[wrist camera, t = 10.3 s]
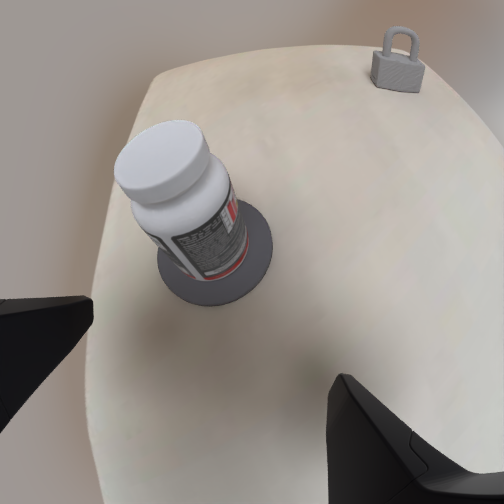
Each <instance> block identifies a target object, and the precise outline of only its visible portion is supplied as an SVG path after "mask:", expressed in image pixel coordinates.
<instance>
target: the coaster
mask: <svg viewBox="0 0 504 504" xmlns="http://www.w3.org/2000/svg"><path fill="white" fill-rule="evenodd" d="M237 202H238V205H239V208H240V211H241V214H242V217H243V220H244V223H245V226H246V228H247V232H248V238H249V246H248V251H247V254H246V256H245V258H244V260H243V262H242V263H241V265H240V266H239V267H238V268H237V269H236V270H235V271H234V272H232V273H231V274H229V275H228V276H226V277H224V278H221V279H219V280H214V281H199V280H195V279H193V278H190V277H189V276H187V275H186V274H184V273H183V272H182V271H181V270H180V269H179V268H178V267H177V266H176V265H175V264H174V263H173V262H172V261H171V260H170V259H169V257H168V256H167V255H166V254H165V253H164V252H163V251H162V250H161V249H160V248H159V247H158V255H157V261H158V268H159V272H160V274H161V277H162V279H163V281H164V282H165V284H166V285H167V286H168V288H169V289H170V290H171V291H172V292H174V293H175V294H176V295H177V296H179V297H180V298H182V299H183V300H185V301H187V302H189V303H192V304H196V305H201V306H218V305H223V304H227V303H230V302H233V301H235V300H237V299H239V298H241V297H243V296H244V295H246V294H247V293H248V292H250V291H251V290H252V289H253V288H254V287H255V286H256V285H257V284H258V283H259V282H260V281H261V279H262V278H263V276H264V275H265V273H266V271H267V269H268V267H269V264H270V261H271V257H272V250H273V246H272V237H271V231H270V228H269V226H268V223H267V222H266V220H265V218H264V217H263V215H262V214H261V213H260V212H259V211H258V210H257V209H256V208H254V207H253V206H252V205H250V204H248V203H246V202H244V201H241V200H238V199H237Z"/></svg>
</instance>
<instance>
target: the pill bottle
mask: <svg viewBox="0 0 504 504" xmlns="http://www.w3.org/2000/svg"><path fill="white" fill-rule="evenodd" d="M114 176H115V179H116V181H117V183H118V184H119V186H120V187H121V189H122V190H123V191H124V193H125V194H126V195H127V196H128V197H129V198H130V199H131V209H132V213H133V216H134V218H135V220H136V221H137V223H138V224H139V226H140V227H141V228H142V229H143V230H144V231H145V232H146V234H147V235H148V236H149V237H150V238H151V239H152V240H153V241H154V242H155V243H156V245H157V246H158V247H159V248H160V249H161V250H162V251H163V252H164V253H165V254H166V255H167V256H168V257H169V259H170V260H171V261H172V262H173V263H174V264H175V265H176V266H177V267H178V268H179V269H180V270H181V271H182V272H183V273H184V274H186V275H187V276H189V277H190V278H193V279H195V280H199V281H214V280H219V279H221V278H224V277H226V276H228V275H229V274H231V273H232V272H234V271H235V270H236V269H237V268H238V267H239V266H240V265H241V263H242V262H243V260H244V258H245V256H246V254H247V251H248V246H249V238H248V232H247V228H246V226H245V223H244V220H243V217H242V214H241V211H240V208H239V205H238V202H237V199H236V196H235V193H234V190H233V187H232V184H231V181H230V177H229V174H228V172H227V170H226V168H225V166H224V164H223V163H222V162H221V160H220V159H219V158H217V157H216V156H215V155H213V154H212V153H210V150H209V146H208V144H207V142H206V140H205V137H204V135H203V133H202V131H201V129H200V128H199V127H198V126H197V125H196V124H194V123H192V122H190V121H186V120H171V121H166V122H162V123H159V124H157V125H154V126H152V127H150V128H148V129H146V130H144V131H142V132H141V133H139V134H138V135H137V136H135V137H134V138H133V139H132V140H131V141H130V142H129V143H128V144H127V145H126V146H125V147H124V148H123V150H122V151H121V152H120V154H119V156H118V158H117V160H116V163H115V167H114Z"/></svg>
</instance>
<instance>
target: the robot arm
mask: <svg viewBox="0 0 504 504" xmlns="http://www.w3.org/2000/svg"><path fill="white" fill-rule="evenodd" d="M93 319H94V314H93V301H92V299H91V298H88V297H86V296H66V297H47V298H24V299H7V300H6V299H0V433H1V432H2V431H3V429H4V428H5V427H6V425H7V424H8V423H9V421H10V419H12V418H13V416H14V415H15V414H16V413H17V412H18V410H19V409H20V408H21V407H22V406H23V404H24V403H25V402H26V401H27V400H28V398H29V397H30V396H31V395H32V394H33V393H34V391H35V390H36V389H37V388H38V387H39V386H40V385H41V383H42V382H43V381H44V380H45V379H46V378H47V377H48V376H49V375H50V373H51V372H52V371H53V370H54V369H55V368H56V367H57V366H58V365H59V364H60V362H61V361H62V360H63V359H64V358H65V357H66V356H67V355H68V354H69V353H70V352H71V350H72V349H73V348H74V347H75V346H76V344H77V343H78V342H79V340H80V339H81V338H82V336H83V335H84V334H85V333H86V331H87V330H88V329H89V327H90V326H91V325H92V323H93ZM326 444H327V463H328V497H329V504H504V472H496V473H486V474H479V473H473V472H470V471H468V470H466V469H464V468H463V467H461V466H460V465H458V464H457V463H455V462H454V461H452V460H451V459H449V458H448V457H446V456H445V455H444V454H442V453H441V452H439V451H438V450H437V449H435V448H434V447H432V446H431V445H430V444H429V443H427V442H426V441H425V440H424V439H422V438H421V437H420V436H419V435H418V434H417V433H415V432H414V431H412V429H411V428H410V427H408V426H407V425H406V424H405V423H404V422H403V421H402V420H400V419H399V418H398V417H397V416H396V415H395V414H394V413H393V412H391V411H390V410H389V409H388V408H387V407H386V406H385V405H384V404H382V403H381V402H380V401H379V400H378V399H377V398H376V397H375V396H373V395H372V394H371V393H370V392H369V391H368V390H367V389H366V388H365V387H363V386H362V385H361V384H360V383H359V382H358V381H357V380H356V379H355V378H354V377H352V376H351V375H349V374H343V373H340V374H338V376H337V377H336V379H335V381H334V383H333V385H332V387H331V389H330V391H329V394H328V406H327V424H326Z"/></svg>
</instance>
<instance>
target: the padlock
mask: <svg viewBox="0 0 504 504" xmlns="http://www.w3.org/2000/svg"><path fill="white" fill-rule="evenodd" d="M398 33H401V34H406V35H408V36H410V37H411V40H412V46H411V52H410V56H406V55H403V54H398V53H393V52H391V46H392V39H393V36H394V35H395V34H398ZM418 51H419V38H418V36H417V34H416V33H415V32H414V31H412V30H411V29H409V28H406V27H401V26H393V27H391V28H389V29H388V30H387V31H386V33H385V36H384V42H383V52H382V51H374V52H373V59H372V60H373V61H372V69H371V77H370V78H371V79H372V81H373V82H374V84H375V85H376V86H377V87H379V88H380V87H381V88H386V89H391V90H396V91H402V92H416V93H417V92H418V93H419V91H420V88H421V83H422V80H423V75H424V70H425V66H424V65H423V64H422V63H421V62H420V61H419V60H418V59H417V57H418Z"/></svg>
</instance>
